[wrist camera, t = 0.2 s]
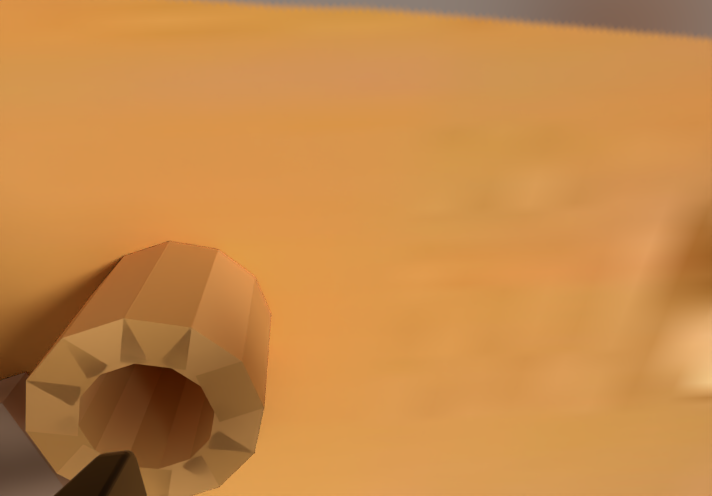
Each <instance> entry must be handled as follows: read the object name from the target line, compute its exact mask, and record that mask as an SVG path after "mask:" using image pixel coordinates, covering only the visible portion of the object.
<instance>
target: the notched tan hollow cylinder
mask: <svg viewBox="0 0 712 496" xmlns="http://www.w3.org/2000/svg"><path fill="white" fill-rule="evenodd" d="M270 325H271V313H270V310H269V308H268V305H267V303H266V301H265V298H264V296H263V294H262V291H261V289H260V287H259V284H258V282H257V280H256V277H255V276H254V275H252V274H251V273H250V272H248V271H247V270H245V269H244V268H243V267H241V266H240V265H239V264H237V263H236V262H235V261H233V260H232V259H231V258H229V257H228V256H227V255H225V254H224V253H223V252H221V251H220V250H219V249H213V248H207V247H201V246H195V245H190V244H184V243H178V242H172V241H169V242H166V243H162V244H159V245H156V246H153V247H150V248H147V249H144V250H141V251H138V252H135V253H132V254H128V255H125V256H124V257H123V258H122V259H121V260H120V262H119V263H118V264H117V265H116V266H115V268H114V269H113V270H112V271H111V272H110V273H109V275H108V276H107V277H106V278H105V279H104V281H103V282H102V283H101V284H100V285H99V286H98V288H97V289H96V290H95V291H94V293H93V294H92V295H91V296H90V298H89V299H88V300H87V302H86V303H85V304H84V306H83V307H82V308H81V309H80V311H79V312H78V313H77V315H76V316H75V317H74V319H73V320H72V321H71V322H70V324H69V325H68V326H67V328H66V329H65V330H64V332H63V333H62V334H61V335H60V337H59V338H58V339H57V341H56V342H55V343H54V345H53V346H52V347H51V348H50V350H49V351H48V352H47V354H46V355H45V356H44V358H43V359H42V360H41V361H40V363H39V364H38V365H37V367H36V368H35V369H34V371H33V372H32V373H31V374H30V376H29V377H28V378H27V380H26V430H25V431H26V432H27V433H28V435H29V436H30V438H31V439H32V440H33V442H34V443H35V444H36V446H37V447H38V448H39V450H40V451H41V453H42V454H43V455H44V457H45V458H46V459H47V461H48V462H49V463H50V465H51V466H52V468H53V469H54V470H55V472H56V473H57V474H59V475H61V476H63V477H65V478H67V479H69V480H71V479H72V478H73V477H75V476H76V475H77V474H78V473H79V472H80V471H81V470H82V469H83V468H84V467H86V466H87V465H88V464H89V463H90V462H91V461H92V460H93V459H94V458H96V457H97V456H98V455H100V454H103V453H107V452H116V451H124V450H129V451H132V452H133V453H134V454H135V456H136V458H137V461H138V465H139V468H140V472H141V475H142V479H143V483H144V486H145V490H146V493H147V496H193V495H196V494H199V493H202V492H205V491H208V490H212V489H215V488H218V487H220V486H221V485H222V484H223V483H224V482H225V481H226V480H227V479H228V478H229V477H230V476H231V475H232V474H233V473H234V472H235V471H236V470H237V469H238V468H239V467H241V466H242V465H243V464H244V463H245V462H246V461H247V460H248V459H249V458H250V457H251V456H252V455H253V454H254V453H255V449H256V444H257V439H258V434H259V430H260V425H261V420H262V415H263V410H264V404H265V391H266V378H267V365H268V352H269V339H270Z"/></svg>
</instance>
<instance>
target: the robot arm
mask: <svg viewBox="0 0 712 496" xmlns="http://www.w3.org/2000/svg"><path fill="white" fill-rule="evenodd" d="M54 496H147V493H146V490H145V486H144V483H143V479H142V475H141V472H140V468H139V465H138V461H137V458H136V456H135V454H134V453H133V452H132V451H129V450H124V451H116V452H107V453H103V454H100V455H98V456H97V457H96V458H94V459H93V460H92V461H91V462H90V463H89V464H88V465H87V466H86V467H84V468H83V469H82V470H81V471H80V472H79V473H78V474H77V475H76V476H75V477H73V478H72V479H71V480H70V481H69V482H68V483H67V484H66V485H65V486H64V487H62V488H61V489H60V490H59V491H58V492H57V493H56V494H55V495H54Z"/></svg>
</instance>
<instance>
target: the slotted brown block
mask: <svg viewBox="0 0 712 496" xmlns="http://www.w3.org/2000/svg"><path fill="white" fill-rule="evenodd" d="M28 377H29V375H28V374H27V372H25V373H22V374H18V375H15V376H12V377H9V378H6V379H3V380H0V496H54V495H55V494H56V493H57V492H58V491H59V490H60V489H61V488H62V487H64V486H65V485H66V484H67V483H68V482H69V481H70V480H69V479H67V478H65V477H63V476H61V475H59V474H57V473H56V472H55V470H54V469H53V468H52V466H51V465H50V463H49V462H48V461H47V459H46V458H45V457H44V455H43V454H42V453H41V451H40V450H39V448H38V447H37V446H36V444H35V443H34V442H33V440H32V439H31V438H30V436H29V435H28V433H27V432H26V431H25V430H26V380H27V378H28Z"/></svg>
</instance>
